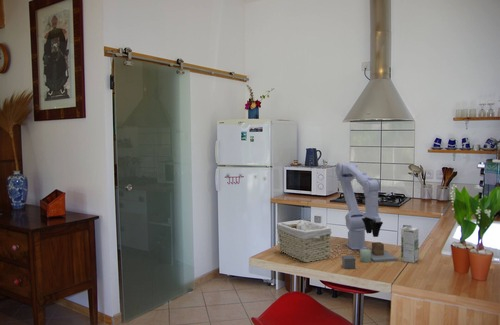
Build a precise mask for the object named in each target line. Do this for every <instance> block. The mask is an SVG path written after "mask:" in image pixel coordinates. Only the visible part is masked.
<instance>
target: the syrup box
mask: <svg viewBox="0 0 500 325" xmlns="http://www.w3.org/2000/svg"><path fill="white" fill-rule="evenodd" d="M400 230H401V233H400V234H401V237H400V238H401V240H400V241H401V242H400V247H401V250H400V254H401V255H400V260H401V262H406V263H413V264H415V263H416V262H417V261H419V244H420V243H419V241H420V240H419V227H415V226H404V227H403V228H400Z"/></svg>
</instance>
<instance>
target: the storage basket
mask: <svg viewBox="0 0 500 325" xmlns="http://www.w3.org/2000/svg"><path fill="white" fill-rule="evenodd" d="M295 227H296V228H295ZM276 229H277V234H278V242H279V243H278V244H279V251H280V252H281V251H282V252H281V253H283V252H284V253H283V254H285V253H286V254H285V255H287V254H288V255H287V256H291V257H292V256H293V257H292V258H294V259H295V258H297V259H296V260H298V261H301V262H304V263H310V261H312V262H315V261H316V260H317V261H321V260H326V259H329V258H330V253H331V252H330V251H331V236H332V235H331V234H332V229H331V227H329V226H327V225H323V224H320V223H316V222H313V221H310V220H305V219H297V220H290V221H289V220H287V221H283V222H277V223H276Z"/></svg>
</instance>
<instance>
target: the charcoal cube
mask: <svg viewBox="0 0 500 325" xmlns="http://www.w3.org/2000/svg"><path fill="white" fill-rule="evenodd" d="M341 258H342V260H341V261H342V262H341V264H342V268H344V270H356V258H355V257H354V256H353V255H342V256H341Z"/></svg>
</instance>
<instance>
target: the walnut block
mask: <svg viewBox="0 0 500 325" xmlns="http://www.w3.org/2000/svg"><path fill="white" fill-rule="evenodd" d="M371 249H372V254H374V255H375V256H379V255H384V250H385V246H384V243H382V242H379V241H378V242H371Z"/></svg>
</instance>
